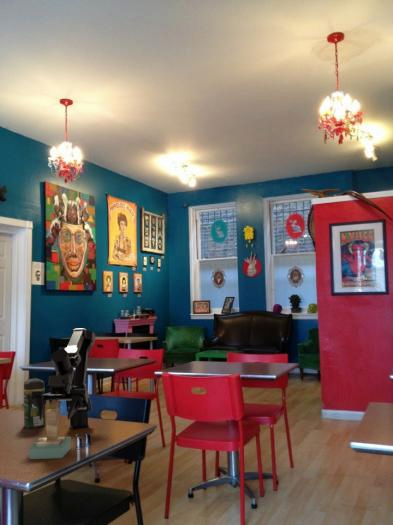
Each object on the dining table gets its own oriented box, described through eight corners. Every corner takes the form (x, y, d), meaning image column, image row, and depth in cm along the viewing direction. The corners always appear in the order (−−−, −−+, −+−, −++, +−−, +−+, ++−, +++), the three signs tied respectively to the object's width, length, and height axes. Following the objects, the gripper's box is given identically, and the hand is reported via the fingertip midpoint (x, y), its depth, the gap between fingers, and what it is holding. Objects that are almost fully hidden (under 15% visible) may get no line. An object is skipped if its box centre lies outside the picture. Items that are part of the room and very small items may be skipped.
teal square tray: (40, 449, 159) (40, 437, 160) (70, 448, 159) (70, 436, 159) (29, 459, 149) (29, 446, 150) (61, 457, 149) (61, 445, 150)
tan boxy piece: (43, 441, 158) (43, 409, 159) (65, 440, 158) (64, 408, 159) (35, 447, 151) (35, 414, 152) (58, 446, 151) (58, 413, 152)
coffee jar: (22, 424, 197) (22, 378, 199) (42, 422, 201) (42, 376, 203) (25, 429, 189) (25, 381, 191) (46, 426, 192) (46, 379, 194)
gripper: (31, 366, 166) (19, 405, 154) (85, 364, 166) (77, 403, 154) (39, 386, 173) (28, 425, 161) (91, 384, 173) (84, 423, 161)
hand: (54, 419), depth 159 cm, fingers open, 9 cm apart
